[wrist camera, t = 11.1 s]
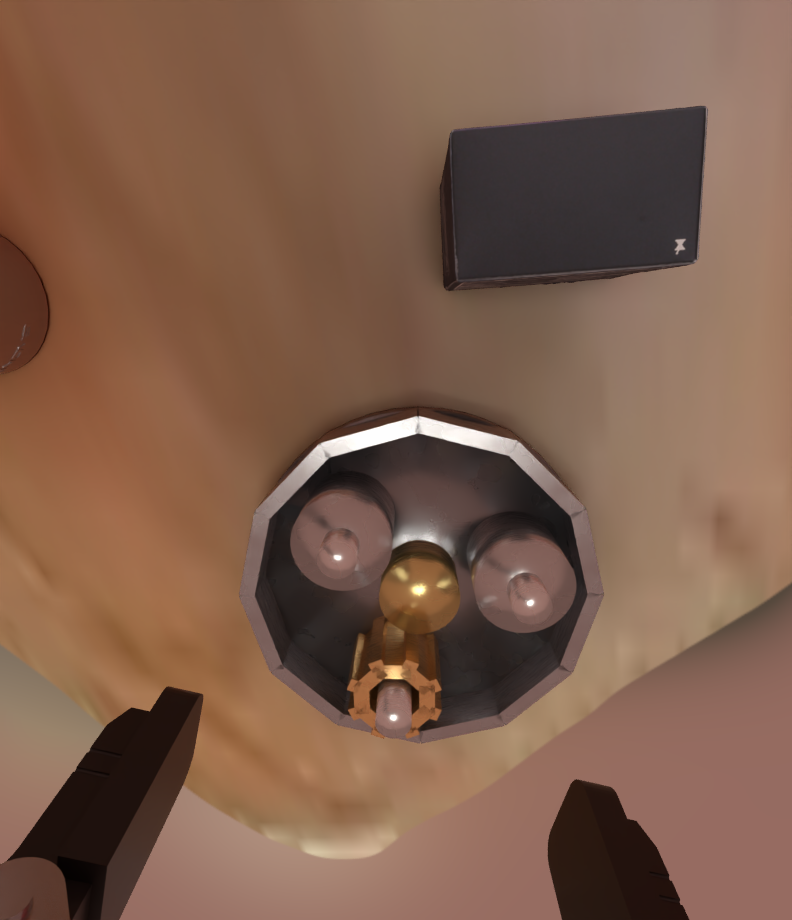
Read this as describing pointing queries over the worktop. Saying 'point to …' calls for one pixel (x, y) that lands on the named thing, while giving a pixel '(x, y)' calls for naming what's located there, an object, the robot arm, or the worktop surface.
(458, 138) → the small box
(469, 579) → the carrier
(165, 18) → the worktop surface
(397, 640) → the planet gear
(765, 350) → the worktop surface
